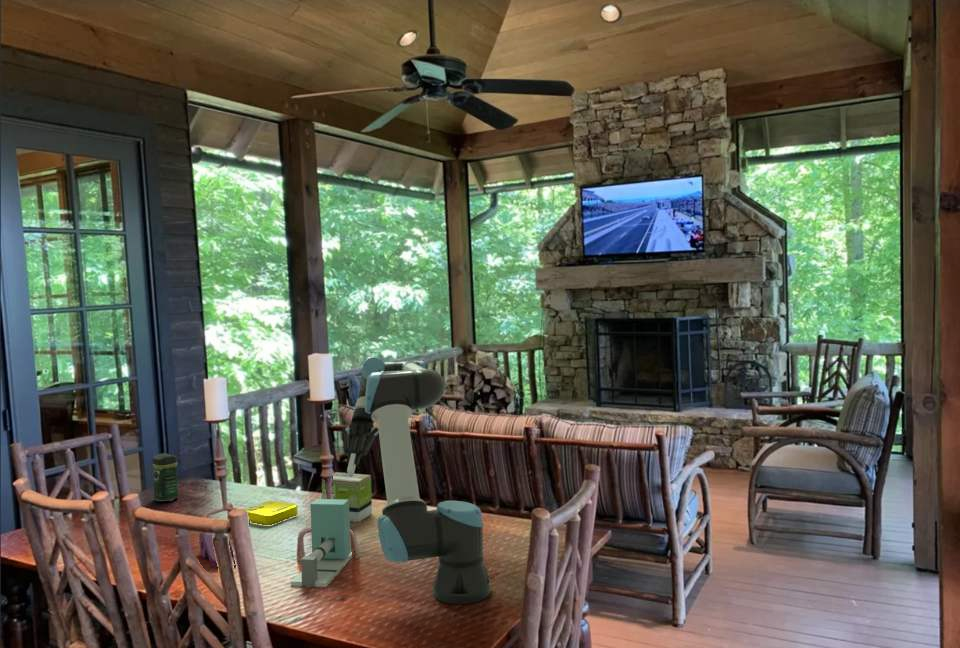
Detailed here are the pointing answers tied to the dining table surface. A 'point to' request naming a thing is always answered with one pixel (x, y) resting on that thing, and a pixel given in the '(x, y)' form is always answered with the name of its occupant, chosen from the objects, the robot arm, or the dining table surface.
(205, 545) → the mounting bracket
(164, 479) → the coffee jar
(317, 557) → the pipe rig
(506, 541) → the dining table surface
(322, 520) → the sleeve
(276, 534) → the dining table surface
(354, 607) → the dining table surface
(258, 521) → the element tile
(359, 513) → the tea box
